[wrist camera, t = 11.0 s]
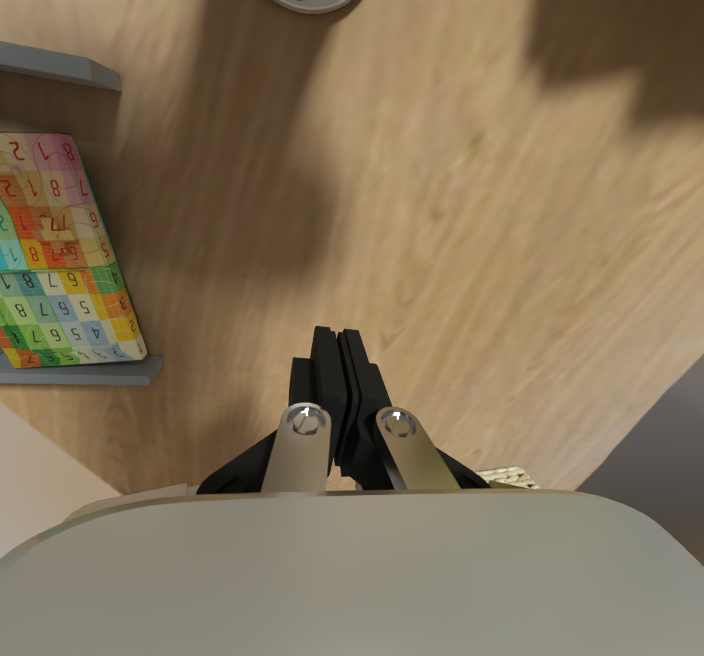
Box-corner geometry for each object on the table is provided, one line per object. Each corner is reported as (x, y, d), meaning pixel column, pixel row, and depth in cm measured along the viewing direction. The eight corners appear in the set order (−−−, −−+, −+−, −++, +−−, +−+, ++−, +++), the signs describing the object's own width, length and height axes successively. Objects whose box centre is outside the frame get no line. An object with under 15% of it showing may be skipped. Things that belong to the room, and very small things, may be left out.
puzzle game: (50, 131, 22) (138, 365, 32) (89, 136, 26) (157, 341, 36) (-149, 127, 21) (6, 374, 30) (-75, 133, 25) (41, 348, 34)
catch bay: (-148, 22, 21) (-236, -5, 18) (118, 73, 24) (88, 58, 21) (-2, 359, 34) (-37, 382, 30) (164, 364, 37) (150, 385, 33)
